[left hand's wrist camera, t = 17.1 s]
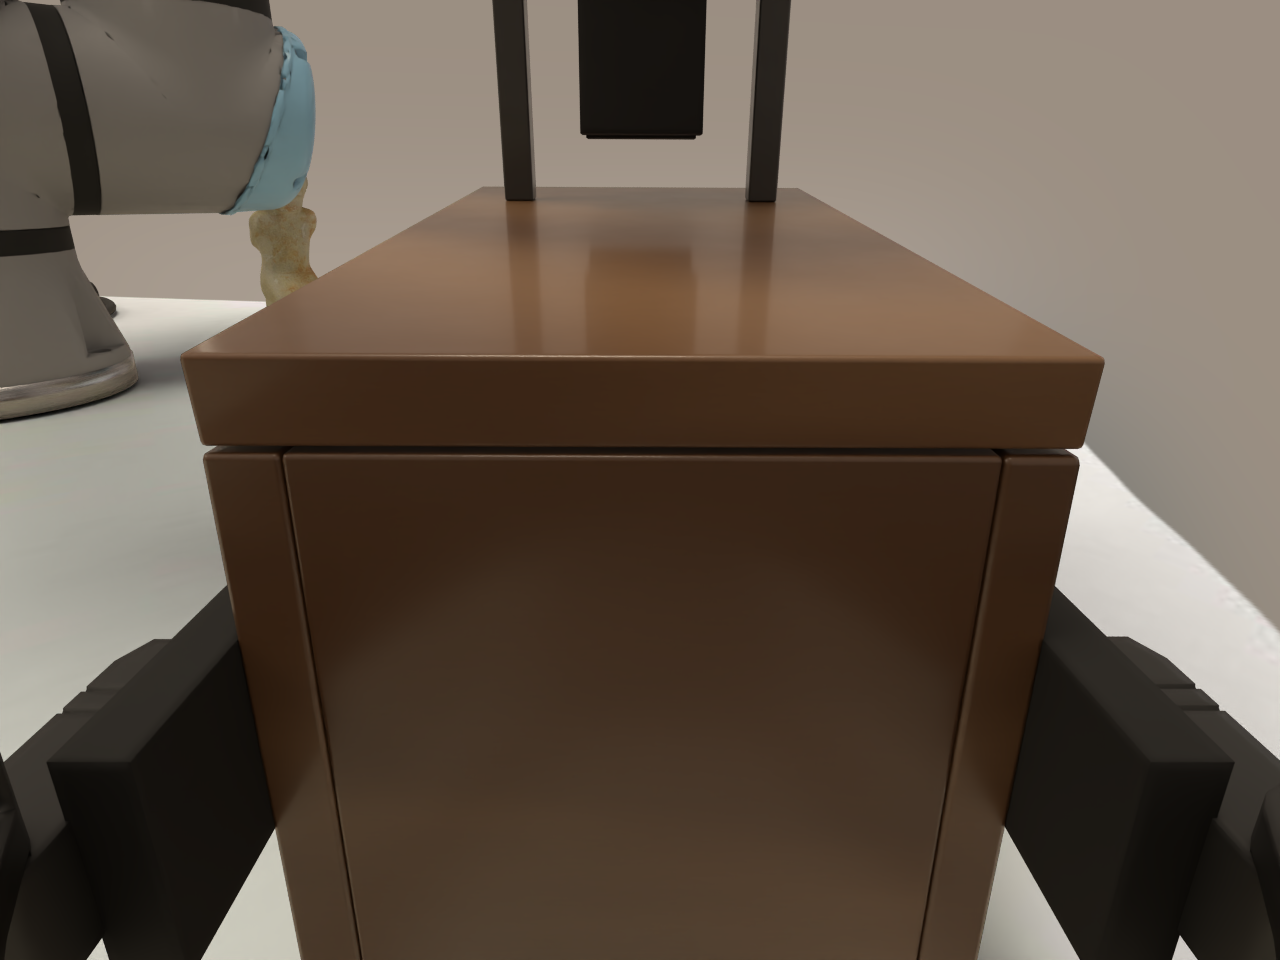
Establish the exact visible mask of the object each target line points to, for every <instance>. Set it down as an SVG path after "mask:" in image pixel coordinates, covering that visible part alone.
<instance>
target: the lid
mask: <svg viewBox="0 0 1280 960" xmlns="http://www.w3.org/2000/svg"><path fill="white" fill-rule="evenodd" d="M492 1H493V17H494V33H495V48H496V64H497V79H498V95H499V111H500V126H501V141H502V157H503V172H504V187H481V188H480V189H478V190H476V191H474V192H473V193H471V194H469V195H467V196H465V197H463V198H462V199H460V200H458V201H456V202H455V203H453V204H451V205H449V206H447V207H446V208H444V209H442V210H440V211H438V212H436V213H435V214H433V215H431V216H429V217H427V218H426V219H424V220H422V221H420V222H418V223H417V224H415V225H413V226H411V227H409V228H408V229H406V230H404V231H402V232H400V233H399V234H397V235H395V236H393V237H392V238H390V239H388V240H386V241H384V242H383V243H381V244H379V245H377V246H375V247H373V248H372V249H370V250H368V251H366V252H364V253H363V254H361V255H359V256H357V257H356V258H354V259H352V260H350V261H348V262H346V263H345V264H343V265H341V266H339V267H338V268H336V269H334V270H332V271H330V272H328V273H327V274H325V275H323V276H321V277H319V278H318V279H316V280H314V281H312V282H310V283H309V284H307V285H305V286H303V287H301V288H300V289H298V290H296V291H294V292H292V293H291V294H289V295H287V296H285V297H283V298H282V299H280V300H278V301H276V302H274V303H273V304H271V305H269V306H267V307H265V308H264V309H262V310H260V311H258V312H256V313H255V314H253V315H251V316H249V317H247V318H246V319H244V320H242V321H240V322H238V323H237V324H235V325H233V326H231V327H229V328H228V329H226V330H224V331H222V332H220V333H219V334H217V335H215V336H213V337H211V338H210V339H208V340H206V341H204V342H202V343H201V344H199V345H197V346H195V347H193V348H192V349H190V350H188V351H186V352H184V353H183V354H181V359H180V360H181V364H182V368H183V372H184V376H185V380H186V384H187V388H188V392H189V396H190V400H191V404H192V408H193V412H194V416H195V420H196V424H197V428H198V432H199V436H200V440H201V443H202V444H203V445H206V446H444V447H705V448H966V449H1079V448H1081V447H1082V446H1083V444H1084V440H1085V436H1086V432H1087V429H1088V425H1089V421H1090V417H1091V414H1092V410H1093V406H1094V402H1095V398H1096V395H1097V391H1098V387H1099V383H1100V379H1101V376H1102V372H1103V368H1104V364H1105V363H1104V358H1103V357H1101V356H1099V355H1097V354H1095V353H1094V352H1092V351H1090V350H1088V349H1086V348H1085V347H1083V346H1081V345H1079V344H1077V343H1076V342H1074V341H1072V340H1070V339H1068V338H1067V337H1065V336H1063V335H1061V334H1059V333H1058V332H1056V331H1054V330H1052V329H1050V328H1049V327H1047V326H1045V325H1043V324H1041V323H1040V322H1038V321H1036V320H1034V319H1032V318H1031V317H1029V316H1027V315H1025V314H1023V313H1022V312H1020V311H1018V310H1016V309H1014V308H1013V307H1011V306H1009V305H1007V304H1005V303H1004V302H1002V301H1000V300H998V299H996V298H995V297H993V296H991V295H989V294H987V293H986V292H984V291H982V290H980V289H978V288H977V287H975V286H973V285H971V284H969V283H968V282H966V281H964V280H962V279H960V278H959V277H957V276H955V275H953V274H951V273H950V272H948V271H946V270H944V269H942V268H941V267H939V266H937V265H935V264H933V263H932V262H930V261H928V260H926V259H924V258H923V257H921V256H919V255H917V254H915V253H914V252H912V251H910V250H908V249H906V248H905V247H903V246H901V245H899V244H897V243H896V242H894V241H892V240H890V239H888V238H887V237H885V236H883V235H881V234H879V233H878V232H876V231H874V230H872V229H870V228H869V227H867V226H865V225H863V224H861V223H860V222H858V221H856V220H854V219H852V218H851V217H849V216H847V215H845V214H843V213H842V212H840V211H838V210H836V209H834V208H833V207H831V206H829V205H827V204H825V203H824V202H822V201H820V200H818V199H816V198H815V197H813V196H811V195H809V194H807V193H806V192H804V191H802V190H800V189H798V188H777V183H778V170H779V156H780V142H781V129H782V116H783V102H784V89H785V75H786V61H787V48H788V34H789V21H790V7H791V0H756V18H755V35H754V52H753V69H752V87H751V105H750V121H749V139H748V156H747V174H746V188H641V187H536V180H535V160H534V139H533V118H532V98H531V77H530V56H529V36H528V15H527V0H492Z"/></svg>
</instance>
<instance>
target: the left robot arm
mask: <svg viewBox="0 0 1280 960" xmlns="http://www.w3.org/2000/svg"><path fill="white" fill-rule="evenodd" d="M1005 828H1006V829H1007V831H1008V833H1009V835H1010V837H1011V838H1012V840H1013V842H1014V844H1015V845H1016V847H1017V849H1018V851H1019V852H1020V854H1021V856H1022V858H1023V860H1024V861H1025V863H1026V865H1027V867H1028V868H1029V870H1030V872H1031V874H1032V876H1033V877H1034V879H1035V881H1036V883H1037V884H1038V886H1039V888H1040V890H1041V891H1042V893H1043V895H1044V897H1045V899H1046V900H1047V902H1048V904H1049V906H1050V907H1051V909H1052V911H1053V913H1054V915H1055V916H1056V918H1057V920H1058V922H1059V923H1060V925H1061V927H1062V929H1063V930H1064V932H1065V934H1066V936H1067V938H1068V939H1069V941H1070V943H1071V945H1072V946H1073V948H1074V950H1075V952H1076V954H1077V955H1078V957H1079V959H1080V960H1172V958H1173V955H1174V951H1175V948H1176V945H1177V942H1178V939H1179V936H1181V937H1182V939H1183V940H1184V941H1185V943H1186V944H1187V946H1188V947H1189V948H1190V950H1191V951H1192V953H1193V954H1194V955H1195V957H1196V958H1197V959H1198V960H1280V760H1279V759H1278V758H1276V757H1275V756H1274V755H1273V754H1272V753H1271V752H1270V751H1269V750H1268V749H1266V748H1265V747H1264V746H1263V745H1262V744H1261V743H1260V742H1259V741H1258V740H1257V739H1255V738H1254V737H1253V736H1252V735H1251V734H1250V733H1249V732H1248V731H1247V730H1246V729H1244V728H1243V727H1242V726H1241V725H1240V724H1239V723H1238V722H1237V721H1236V720H1234V719H1233V718H1232V717H1231V716H1230V715H1229V714H1228V713H1227V712H1226V711H1220V710H1219V705H1218V704H1217V703H1216V702H1215V701H1214V700H1212V699H1211V698H1210V697H1209V696H1208V695H1207V694H1206V693H1205V692H1204V691H1202V690H1201V689H1196V688H1195V683H1194V682H1193V681H1191V680H1190V679H1189V678H1188V677H1187V676H1186V675H1185V674H1184V673H1183V672H1182V671H1180V670H1179V669H1178V668H1177V667H1176V666H1175V665H1174V664H1173V663H1172V662H1170V661H1169V660H1168V659H1167V658H1165V657H1164V656H1162V655H1160V654H1158V653H1156V652H1155V651H1153V650H1151V649H1149V648H1147V647H1145V646H1144V645H1142V644H1140V643H1138V642H1136V641H1135V640H1133V639H1131V638H1129V637H1106V636H1105V635H1104V634H1103V633H1102V632H1101V631H1100V630H1099V629H1098V628H1097V627H1096V626H1095V625H1094V624H1093V623H1092V622H1091V621H1090V620H1089V619H1088V618H1087V617H1086V616H1085V615H1084V614H1083V613H1082V612H1081V611H1080V610H1079V609H1078V608H1077V607H1076V606H1075V605H1074V604H1073V603H1072V602H1071V601H1070V600H1069V599H1068V598H1067V597H1066V596H1065V595H1063V594H1062V593H1061V592H1060V591H1059V590H1058V589H1057V588H1056V587H1054V591H1053V596H1052V601H1051V606H1050V611H1049V616H1048V620H1047V625H1046V630H1045V635H1044V639H1043V641H1042V646H1041V651H1040V656H1039V661H1038V666H1037V671H1036V676H1035V681H1034V686H1033V691H1032V696H1031V700H1030V705H1029V710H1028V715H1027V720H1026V725H1025V730H1024V735H1023V740H1022V745H1021V750H1020V755H1019V759H1018V764H1017V769H1016V774H1015V779H1014V784H1013V789H1012V794H1011V799H1010V803H1009V808H1008V813H1007V818H1006V823H1005ZM274 829H275V824H274V819H273V814H272V809H271V804H270V799H269V794H268V789H267V784H266V779H265V774H264V768H263V763H262V758H261V753H260V748H259V743H258V738H257V733H256V728H255V723H254V718H253V712H252V707H251V702H250V697H249V692H248V687H247V682H246V677H245V672H244V667H243V662H242V656H241V651H240V646H239V641H238V636H237V631H236V626H235V621H234V616H233V611H232V606H231V600H230V595H229V590H228V585H227V586H226V587H225V588H223V589H222V590H221V591H220V592H219V593H218V594H217V595H216V596H215V597H214V598H213V599H212V600H211V601H210V602H209V603H208V604H207V605H206V606H205V607H204V608H203V609H202V610H201V611H200V612H199V613H198V614H197V615H196V616H195V617H194V618H193V619H192V620H191V621H190V622H189V623H188V624H187V625H186V626H185V627H184V628H183V629H182V630H181V631H180V632H179V633H177V634H176V635H175V636H174V637H173V638H172V639H154V640H152V641H150V642H148V643H146V644H145V645H143V646H141V647H139V648H137V649H136V650H134V651H132V652H130V653H128V654H127V655H125V656H123V657H121V658H119V659H117V660H116V661H114V662H113V663H112V664H111V665H110V666H109V667H108V668H107V669H105V670H104V671H103V672H102V673H101V674H100V675H99V676H98V677H97V678H96V679H94V680H93V681H92V682H91V683H90V684H89V685H88V686H87V690H86V692H80V693H79V694H78V695H77V696H76V697H75V698H74V699H73V700H71V701H70V702H69V703H68V704H67V705H66V706H65V707H64V708H63V713H62V714H56V715H55V716H54V717H53V718H52V719H51V720H50V721H49V722H47V723H46V724H45V725H44V726H43V727H42V728H41V729H40V730H39V731H38V732H36V733H35V734H34V735H33V736H32V737H31V738H30V739H29V740H28V741H27V742H26V743H24V744H23V745H22V746H21V747H20V748H19V749H18V750H17V751H16V752H15V753H13V754H12V755H11V756H10V757H9V758H8V759H7V760H6V761H5V762H3V759H2V756H1V753H0V960H87V958H88V957H89V955H90V954H91V953H92V951H93V950H94V948H95V947H96V946H97V944H98V943H99V941H100V940H101V939H103V942H104V945H105V948H106V951H107V954H108V957H109V960H201V959H202V957H203V955H204V953H205V951H206V950H207V948H208V946H209V944H210V943H211V941H212V939H213V937H214V936H215V934H216V932H217V930H218V928H219V927H220V925H221V923H222V921H223V920H224V918H225V916H226V914H227V912H228V911H229V909H230V907H231V905H232V904H233V902H234V900H235V898H236V897H237V895H238V893H239V891H240V889H241V888H242V886H243V884H244V882H245V881H246V879H247V877H248V875H249V873H250V872H251V870H252V868H253V866H254V865H255V863H256V861H257V859H258V857H259V856H260V854H261V852H262V850H263V849H264V847H265V845H266V843H267V842H268V840H269V838H270V836H271V834H272V833H273V831H274Z"/></svg>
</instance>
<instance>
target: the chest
mask: <svg viewBox="0 0 1280 960" xmlns="http://www.w3.org/2000/svg"><path fill="white" fill-rule="evenodd" d="M203 463H204V468H205V473H206V478H207V483H208V488H209V494H210V499H211V504H212V509H213V514H214V519H215V524H216V529H217V534H218V539H219V544H220V550H221V555H222V560H223V565H224V570H225V575H226V580H227V585H228V590H229V595H230V600H231V606H232V611H233V616H234V621H235V626H236V631H237V636H238V641H239V646H240V651H241V656H242V662H243V667H244V672H245V677H246V682H247V687H248V692H249V697H250V702H251V707H252V712H253V718H254V723H255V728H256V733H257V738H258V743H259V748H260V753H261V758H262V763H263V768H264V774H265V779H266V784H267V789H268V794H269V799H270V804H271V809H272V814H273V819H274V824H275V830H276V835H277V840H278V845H279V850H280V855H281V860H282V865H283V870H284V875H285V880H286V886H287V891H288V896H289V901H290V906H291V911H292V916H293V921H294V926H295V931H296V936H297V942H298V947H299V952H300V957H301V960H977V958H978V953H979V948H980V943H981V938H982V933H983V929H984V924H985V919H986V914H987V909H988V905H989V900H990V895H991V890H992V885H993V880H994V876H995V871H996V866H997V861H998V856H999V852H1000V847H1001V842H1002V837H1003V832H1004V827H1005V823H1006V818H1007V813H1008V808H1009V803H1010V799H1011V794H1012V789H1013V784H1014V779H1015V774H1016V769H1017V764H1018V759H1019V755H1020V750H1021V745H1022V740H1023V735H1024V730H1025V725H1026V720H1027V715H1028V710H1029V705H1030V700H1031V696H1032V691H1033V686H1034V681H1035V676H1036V671H1037V666H1038V661H1039V656H1040V651H1041V646H1042V641H1043V639H1044V635H1045V630H1046V625H1047V620H1048V616H1049V611H1050V606H1051V601H1052V596H1053V591H1054V587H1055V582H1056V577H1057V572H1058V567H1059V563H1060V558H1061V553H1062V548H1063V543H1064V538H1065V534H1066V529H1067V524H1068V519H1069V514H1070V510H1071V505H1072V500H1073V495H1074V490H1075V486H1076V481H1077V476H1078V471H1079V466H1080V464H1079V459H1078V457H1077V456H1075V455H1073V454H1072V453H1070V452H1069V451H1067V450H1065V449H966V448H705V447H444V446H216V447H215V448H213V449H212V450H210V451H208V452H207V453H205V454H204V458H203Z"/></svg>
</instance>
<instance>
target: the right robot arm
mask: <svg viewBox="0 0 1280 960" xmlns="http://www.w3.org/2000/svg"><path fill="white" fill-rule="evenodd" d="M706 1H707V0H578V34H579V84H580V133H581V134H582V135H586V138H588V139H695V138H696V136H699V135H702V133H703V101H704V68H705V34H706ZM60 2H61V5H45V4H36V3H27V2H21V1H19V0H0V419H6V418H13V417H19V416H26V415H32V414H37V413H43V412H48V411H53V410H58V409H63V408H67V407H72V406H76V405H80V404H84V403H88V402H92V401H95V400H99V399H102V398H105V397H108V396H111V395H114V394H116V393H119V392H121V391H123V390H126V389H127V388H129V387H131V386H132V385H134V384H135V383H136V382H137V380H138V374H137V369H136V365H135V360H134V356H133V352H132V350H130V347H129V345H128V343H127V342H126V340H125V338H124V337H123V335H122V333H121V332H120V330H119V329H118V327H117V325H116V324H115V322H114V320H113V319H112V317H111V316H110V315H111V314H112V313H113V312H114V311H115V310H116V305H115V303H114V302H113V301H111V300H109V299H107V298H104V297H99V293H98V291H97V289H96V287H95V286H94V284H93V283H91V282H90V281H89V280H88V278H87V276H86V275H85V273H84V272H83V270H82V268H81V266H80V264H79V261H78V259H77V255H76V251H75V247H74V243H73V238H72V234H71V230H70V226H69V219H68V217H69V216H71V215H125V214H182V213H219V214H223V215H233V214H235V213H236V212H243V211H258V210H272V209H278V208H281V207H283V206H285V205H287V204H288V203H290V202H291V201H292V200H293V199H294V198H295V197H296V196H297V194H298V193H299V192H300V190H301V188H302V186H303V184H304V181H305V179H306V175H307V172H308V170H309V166H310V162H311V157H312V152H313V145H314V135H315V92H314V82H313V76H312V71H311V67H310V64H309V63H308V62H307V52H306V50H305V47H304V46H303V44H302V42H301V40H300V39H299V38H298V37H297V36H296V35H295V34H293V33H292V32H289V31H287V30H286V29H285V28H283V27H279V26H274V27H273V25H272V19H271V12H270V4H269V0H60Z"/></svg>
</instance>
